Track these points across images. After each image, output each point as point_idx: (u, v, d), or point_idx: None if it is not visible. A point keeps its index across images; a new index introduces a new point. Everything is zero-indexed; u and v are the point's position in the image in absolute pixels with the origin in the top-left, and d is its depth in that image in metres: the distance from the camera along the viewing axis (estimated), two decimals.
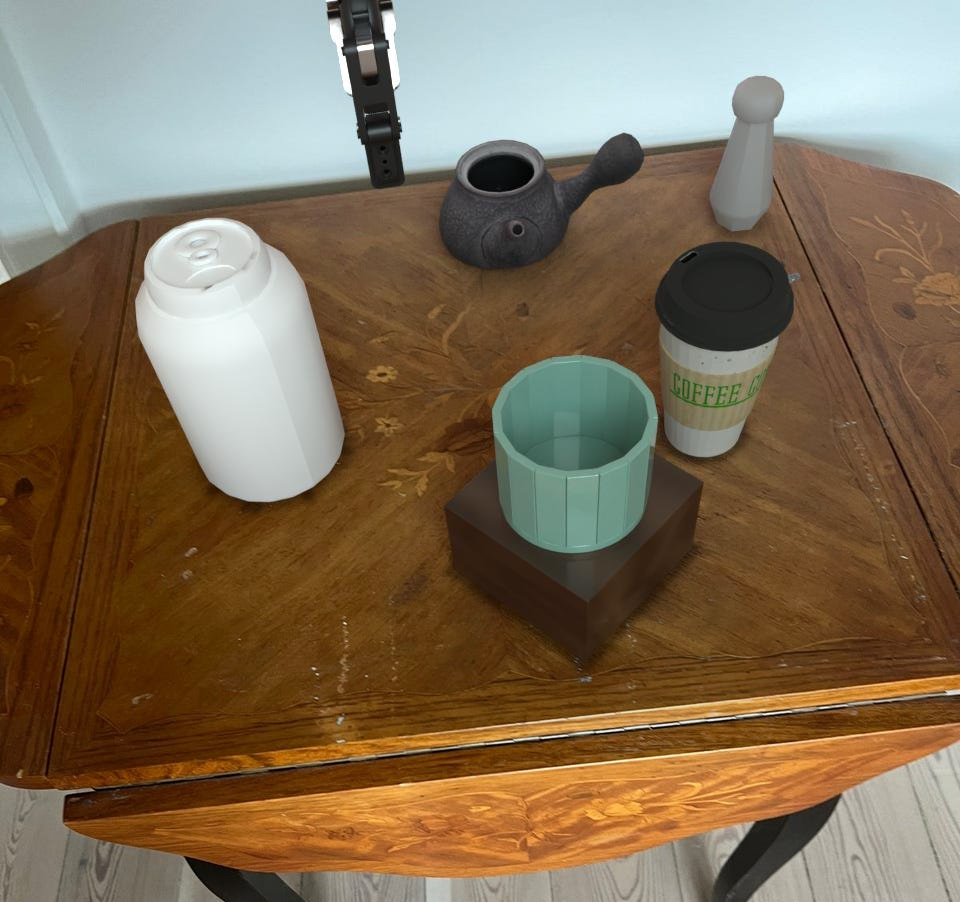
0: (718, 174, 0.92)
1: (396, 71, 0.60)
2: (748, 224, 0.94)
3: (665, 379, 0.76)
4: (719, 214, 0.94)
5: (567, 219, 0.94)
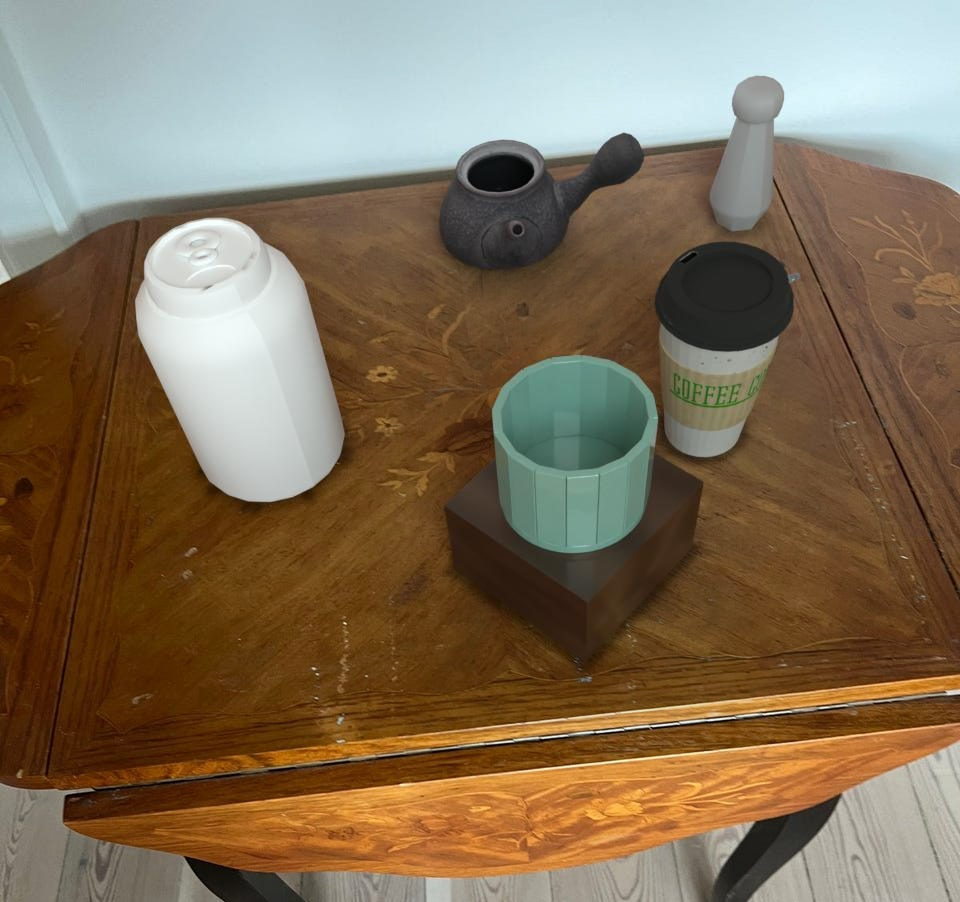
0: (718, 174, 0.92)
1: None
2: (748, 224, 0.94)
3: (665, 379, 0.76)
4: (719, 214, 0.94)
5: (567, 219, 0.94)
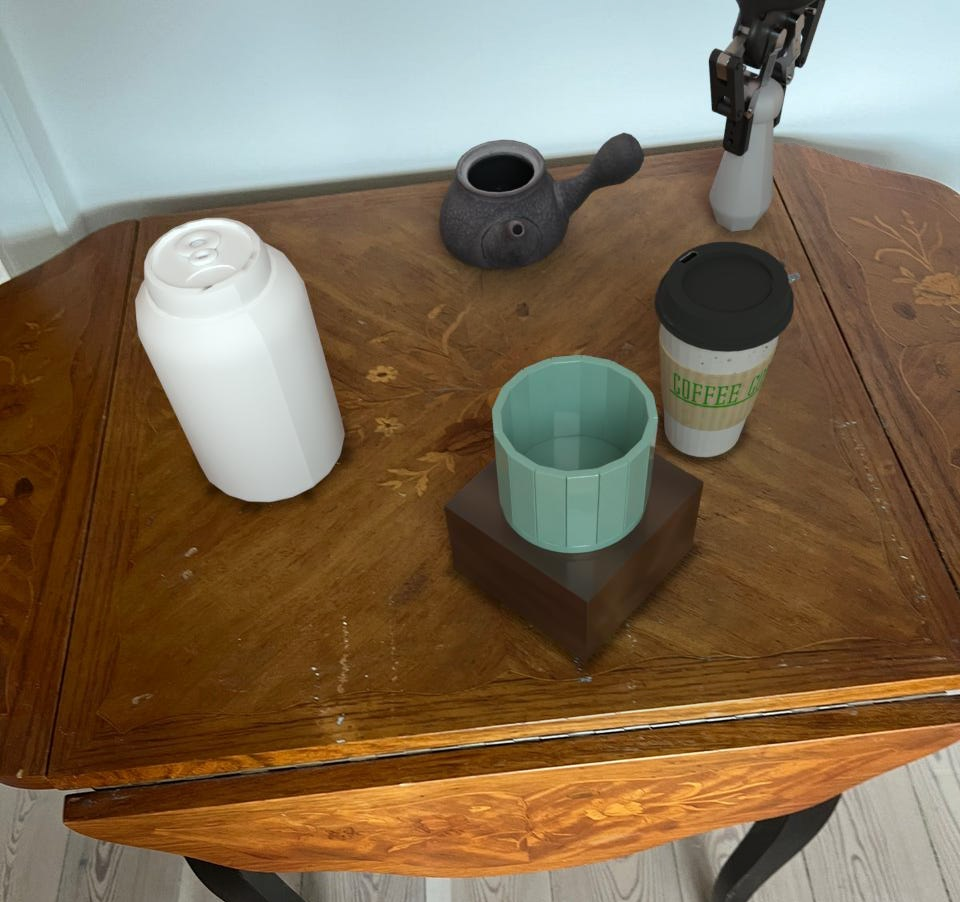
0: (718, 174, 0.92)
1: (761, 80, 0.82)
2: (748, 224, 0.94)
3: (665, 379, 0.76)
4: (719, 214, 0.94)
5: (567, 219, 0.94)
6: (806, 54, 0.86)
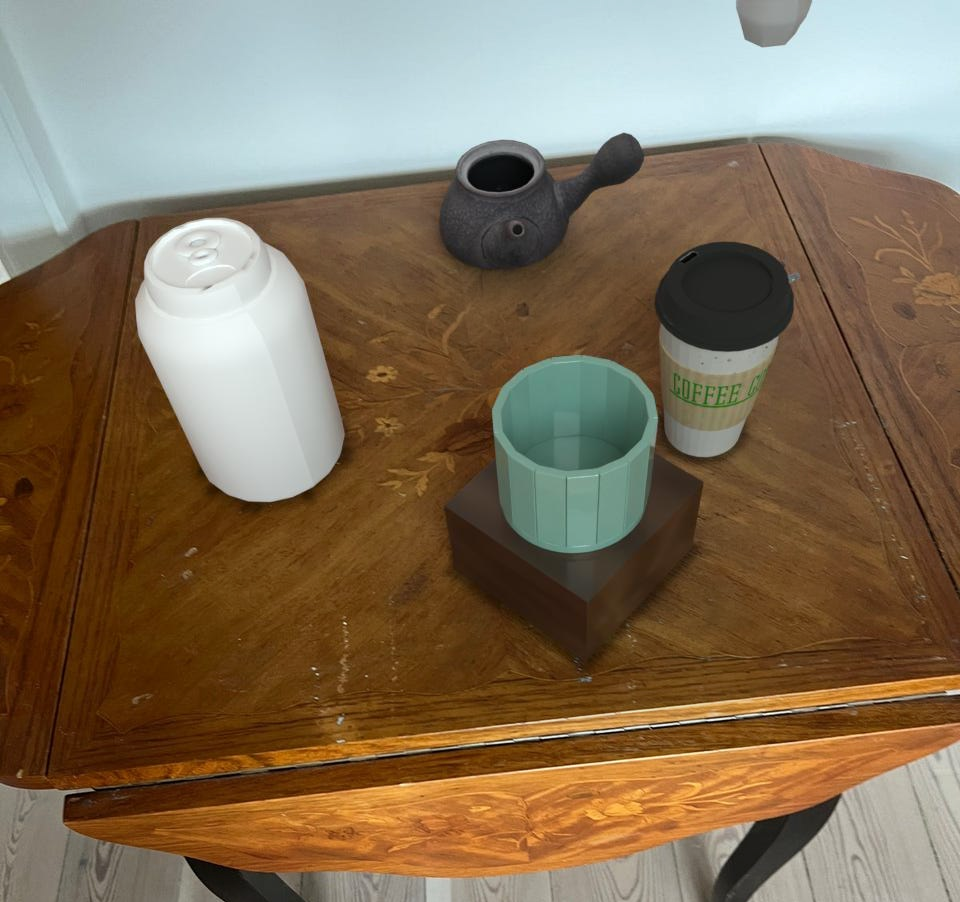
0: None
1: None
2: (782, 36, 0.79)
3: (665, 379, 0.76)
4: (748, 23, 0.79)
5: (567, 219, 0.94)
6: None
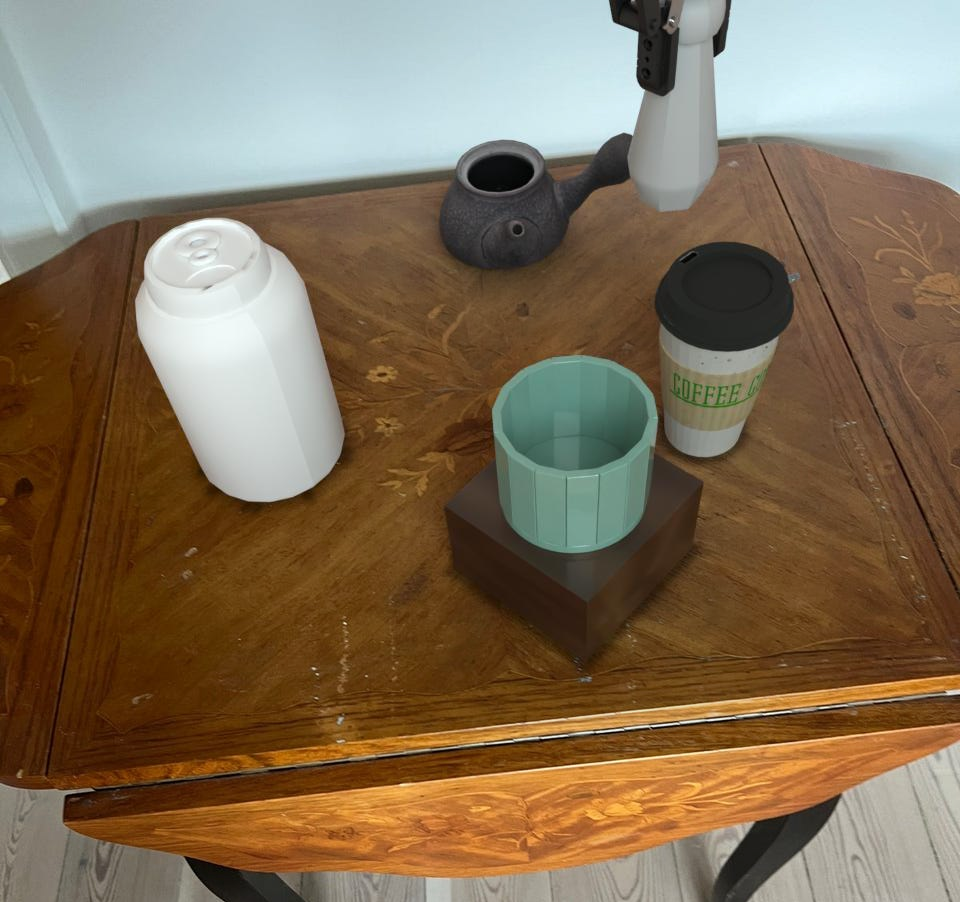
0: (636, 127, 0.63)
1: None
2: (683, 201, 0.65)
3: (665, 379, 0.76)
4: (640, 186, 0.64)
5: (567, 219, 0.94)
6: None
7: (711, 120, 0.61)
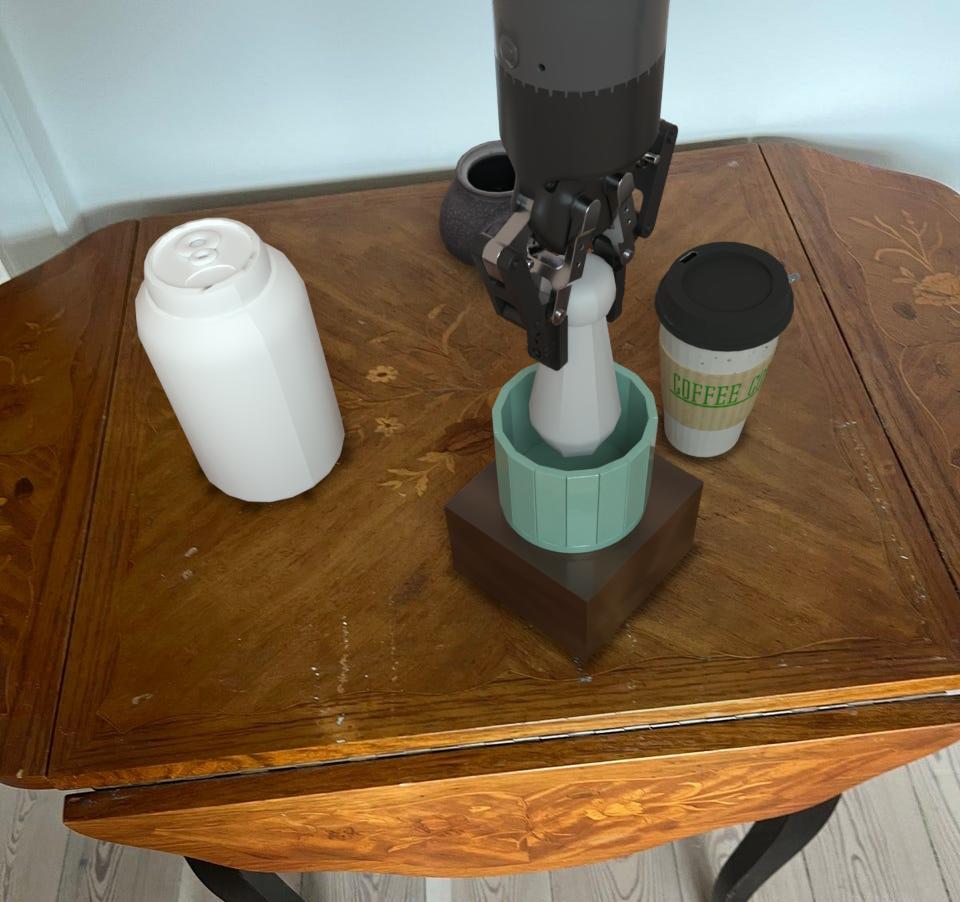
0: (535, 382, 0.61)
1: (567, 274, 0.51)
2: (586, 449, 0.63)
3: (665, 379, 0.76)
4: (541, 437, 0.63)
5: None
6: (653, 218, 0.55)
7: (609, 381, 0.60)
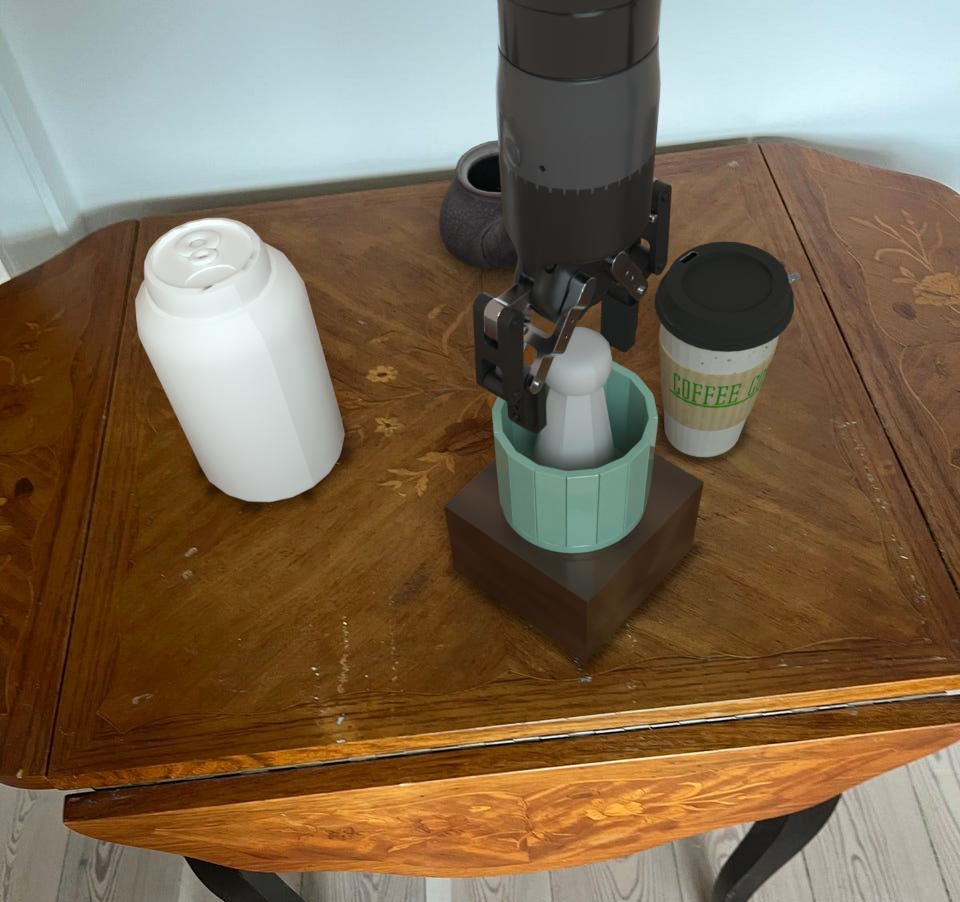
0: (537, 441, 0.66)
1: (554, 342, 0.54)
2: None
3: (665, 379, 0.76)
4: None
5: None
6: (664, 256, 0.58)
7: (606, 442, 0.64)
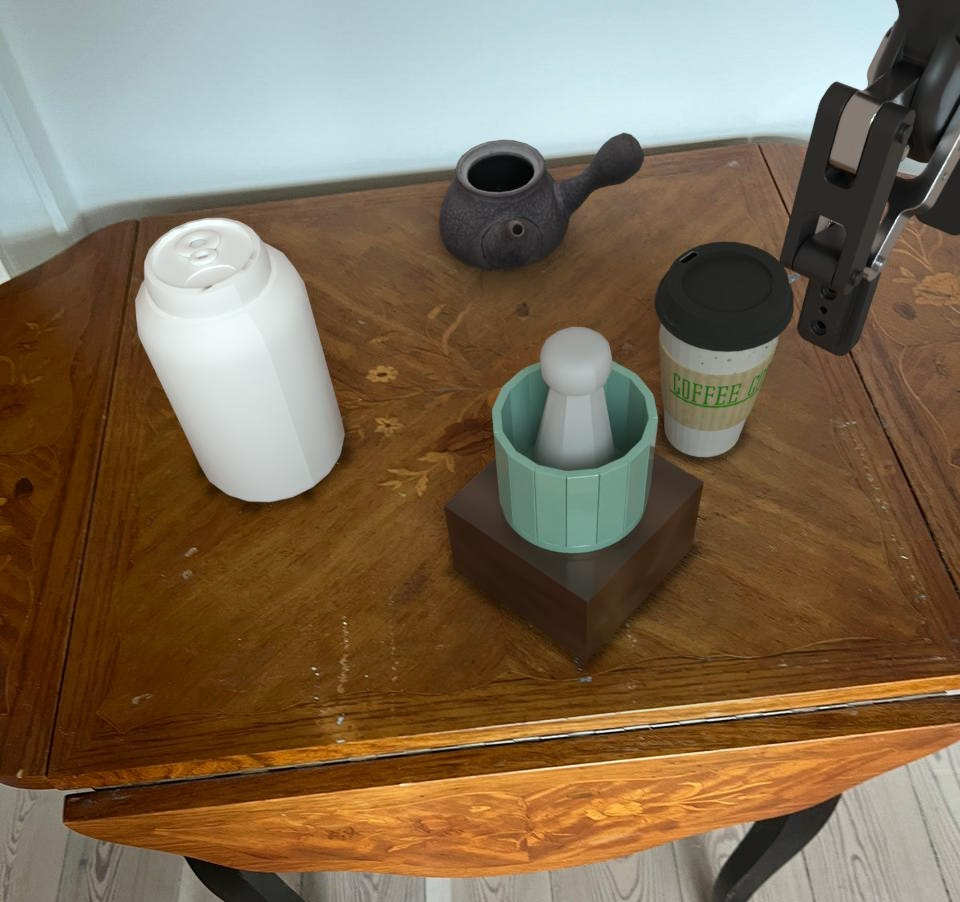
0: (537, 441, 0.66)
1: (927, 187, 0.31)
2: None
3: (665, 379, 0.76)
4: None
5: (567, 219, 0.94)
6: None
7: (606, 442, 0.64)
